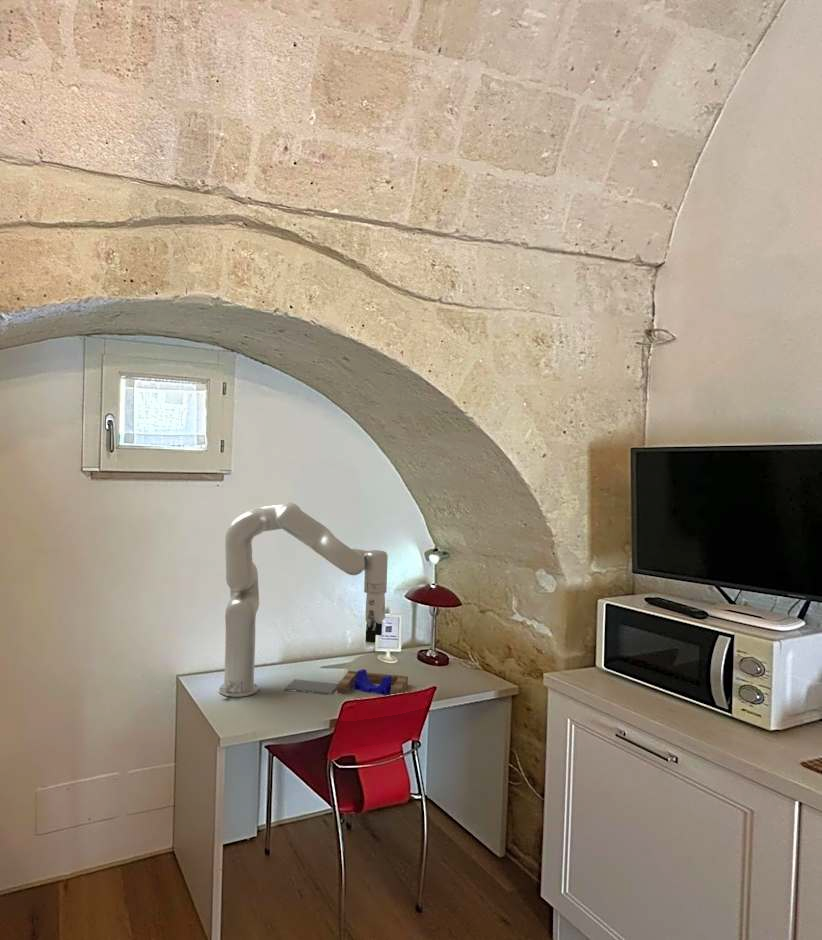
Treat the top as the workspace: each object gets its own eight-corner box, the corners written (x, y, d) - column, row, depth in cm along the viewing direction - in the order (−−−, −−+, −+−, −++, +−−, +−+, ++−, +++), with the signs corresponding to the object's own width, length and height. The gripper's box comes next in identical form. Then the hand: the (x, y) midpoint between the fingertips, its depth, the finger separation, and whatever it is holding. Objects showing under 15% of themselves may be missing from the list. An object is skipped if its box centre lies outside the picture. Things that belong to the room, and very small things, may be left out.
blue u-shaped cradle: (354, 689, 247) (354, 672, 246) (362, 686, 250) (362, 669, 250) (383, 697, 240) (383, 679, 240) (390, 693, 244) (391, 676, 244)
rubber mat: (330, 694, 240) (331, 693, 240) (284, 690, 242) (284, 688, 242) (339, 685, 249) (339, 683, 249) (294, 681, 252) (294, 679, 252)
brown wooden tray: (399, 699, 238) (399, 690, 238) (336, 693, 241) (337, 684, 241) (407, 684, 253) (407, 676, 253) (349, 679, 257) (349, 670, 256)
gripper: (380, 593, 234) (379, 646, 235) (391, 583, 251) (389, 633, 252) (358, 591, 236) (356, 644, 236) (370, 582, 253) (368, 631, 253)
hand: (373, 638), depth 244 cm, fingers open, 9 cm apart
